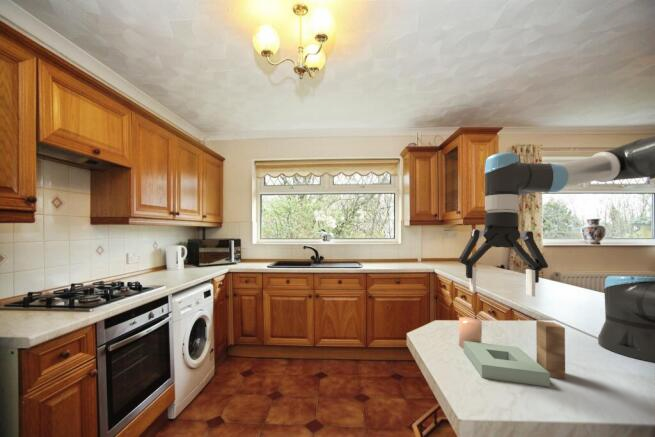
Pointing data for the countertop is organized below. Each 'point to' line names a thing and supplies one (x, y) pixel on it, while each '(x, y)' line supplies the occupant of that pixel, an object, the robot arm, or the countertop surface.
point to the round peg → (469, 330)
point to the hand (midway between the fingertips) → (501, 293)
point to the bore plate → (505, 363)
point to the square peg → (551, 348)
